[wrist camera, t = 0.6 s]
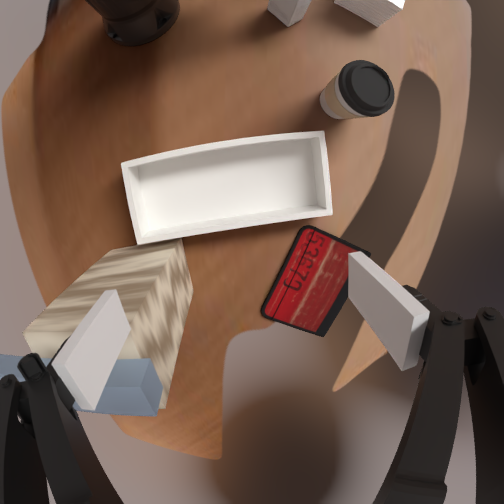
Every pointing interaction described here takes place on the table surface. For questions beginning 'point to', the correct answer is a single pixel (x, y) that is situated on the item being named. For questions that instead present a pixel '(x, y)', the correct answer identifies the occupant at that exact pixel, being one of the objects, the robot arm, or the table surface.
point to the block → (114, 386)
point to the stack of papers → (373, 9)
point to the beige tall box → (127, 305)
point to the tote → (228, 185)
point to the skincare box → (288, 10)
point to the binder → (311, 282)
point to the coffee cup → (358, 92)
